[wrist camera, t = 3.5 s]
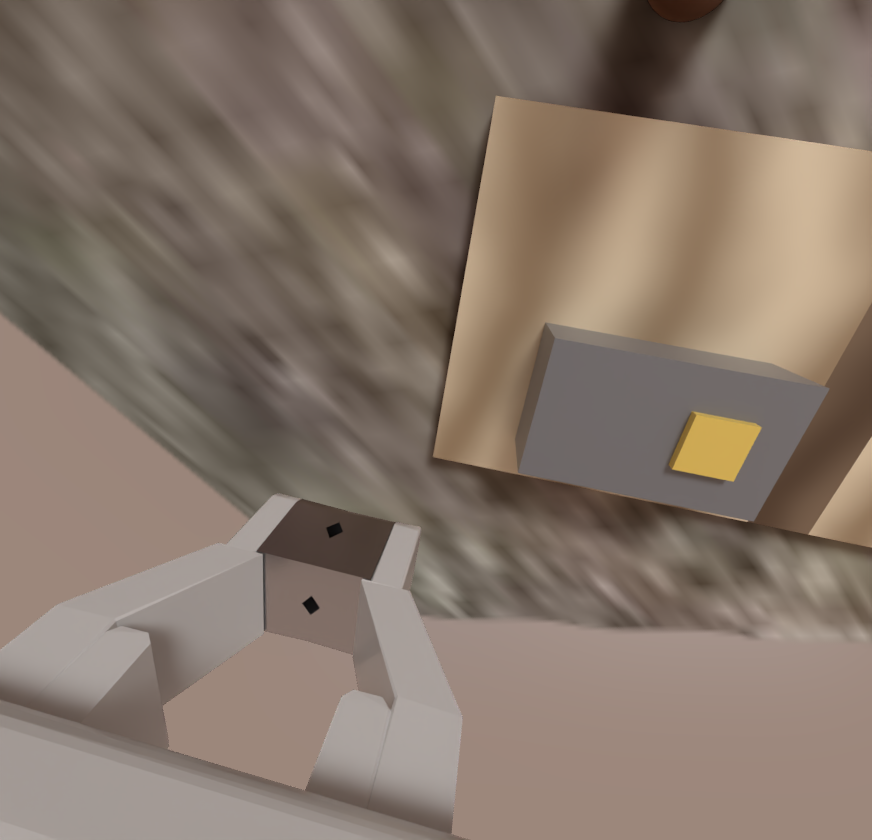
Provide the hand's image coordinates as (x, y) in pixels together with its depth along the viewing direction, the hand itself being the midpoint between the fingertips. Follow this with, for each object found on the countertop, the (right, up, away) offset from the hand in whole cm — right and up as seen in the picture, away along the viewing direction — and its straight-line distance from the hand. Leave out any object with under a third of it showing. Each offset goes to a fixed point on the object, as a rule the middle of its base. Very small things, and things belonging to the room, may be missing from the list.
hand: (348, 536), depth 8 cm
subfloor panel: (+16, +5, +11) cm, 20 cm away
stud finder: (+11, +3, +11) cm, 16 cm away
